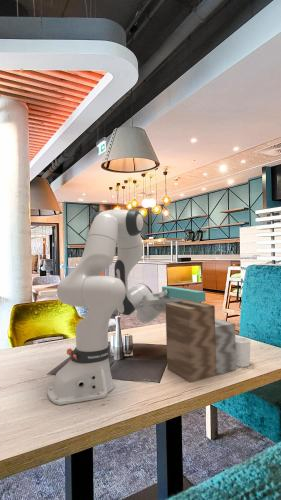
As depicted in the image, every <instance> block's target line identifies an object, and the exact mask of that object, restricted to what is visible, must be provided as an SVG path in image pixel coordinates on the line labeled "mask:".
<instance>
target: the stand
mask: <svg viewBox="0 0 281 500" xmlns="http://www.w3.org/2000/svg"><path fill="white" fill-rule="evenodd" d="M215 307H216V306H215V305H214V304H209V303H204V302H194V301H189V300H184V301H182V302H174V303H166V312H165V330H166V331H165V334H166V335H165V336H166V337H165V338H166V368H167V370H168V371H170V372H171V373H173V374H175V375H177V376H178V377H180V378H182V379H183V380H185V381H187V382H188V383H193V382H197V381H201V380H204V379H208V378H209V379H210V378H213V377H215V376H219V375H222V374H226V373H231V372H233V371H236V370H237V366H236V342H235V337H236V323H235V322H230V321H226V320H222V319H220V318H216V312H215V311H216V310H215Z"/></svg>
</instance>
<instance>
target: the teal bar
mask: <svg viewBox="0 0 281 500" xmlns="http://www.w3.org/2000/svg"><path fill="white" fill-rule="evenodd" d="M164 290H169V294H168V295H165V296H169V297H174V298H179V299H184V301H194V302H200V303H204V302H206V291H202V290H201V291H200V290H195V289H189V288H182V287H176V286H169V285H167V286H162V287H161V292H163V291H164Z"/></svg>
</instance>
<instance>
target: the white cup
mask: <svg viewBox="0 0 281 500" xmlns="http://www.w3.org/2000/svg"><path fill="white" fill-rule="evenodd" d="M235 342H236V367H238V368H239V367H240V368H246V367H247V368H248V367H249V366H250V365H251V364H250V363H251V362H250V361H251V359H250V358H251V339H250V338H247V337H242V336H235Z"/></svg>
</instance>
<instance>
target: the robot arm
mask: <svg viewBox="0 0 281 500" xmlns="http://www.w3.org/2000/svg"><path fill="white" fill-rule="evenodd" d="M143 229H144V218H143V215H142V213H141V211H139V210H137V209H108V210H99V211H97V212H95V213H94V214H93V215H92V216H91V219H90V227H89V230H88V233H87V237H86V242H85V245H84V248H83V253H82V255H81V257H80V260H79V261H78V263H77V265H76V266H75V267H74V268H73V269H72V271H71V272H70V273H69V274H68V275H66V276H65V277H63V278H62V279H61V280H60V281H59V282H58V285H57V287H56V294H57V299H58V300H59V302H61V303H63V304H65V305H67V306H70V307H75V308H76V307H78V308H81V307H82V308H88V310H87V311H88V312H87V315H86V317H84V318H82V319H81V320H80V321H79V322H77V324H76V326H75V346H76V347H75V348H74V349H72V348H68V349H67V350H66V354H67V355H68V356H70V360H69V361H68V362H67V363H66V364H65V365H64V366H62V367H61V368H60V369H59V370H57V372H56V374H55V376H54V382H53V385H51V386H49V387H48V388H47V390H46V391H47V393H46V394H47V395H46V396H47V397H48V399H49V401H51V402H52V403H53V404H55V405H57V406H58V405H60V406H61V405H68V404H74V403H80V402H81V403H82V402H85V401H86V402H87V401H92V400H99V399H104V398H106V397H107V396H108V393H109V392H112V390H113V389H114V388H115V384H114V380H113V378H112V372H111V365H110V361H111V351H110V345H109V325H110V320H111V317H112V315H113V313H114V312H115V310H116V311H117V312H118V313H119V314H120V315H123V316H130V315H132V313H134V312H135V311H136V318H137V320H138V321H139V322H141V323H145V324H147V323H150V322H153V321H154V320H156V319H157V318H158V317H159V316H160V315H162V314H164V313H166V303H174V302H182V301H185V300H184V299H179V298H174V297H169V296H165V295H168V294H169V290H164V291H163V292H162V291H161V292H153V290H152V289H151V288H150V287H149V286H148V285H146V284H144V283H137V284H136V285H134V286H132V287H131V288H128V287H129V285H128V284H129V283H128V282H129V281H128V277H129V274H130V273H131V271H132V270H133V269H134V267H135V266H136V265H137V264H138V263H139V262H140V261H141V259H142V257H143V255H144V246H143V241H142V237H141V232H142V230H143ZM116 247H117V256H116V257H117V258H116V261H115V263H114V267H113V268H114V276H110V275H100V274H101V273H102V272H103V271H104V270H107V269H109V267H110V266H112V264H113V262H114V257H115V254H116Z"/></svg>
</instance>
